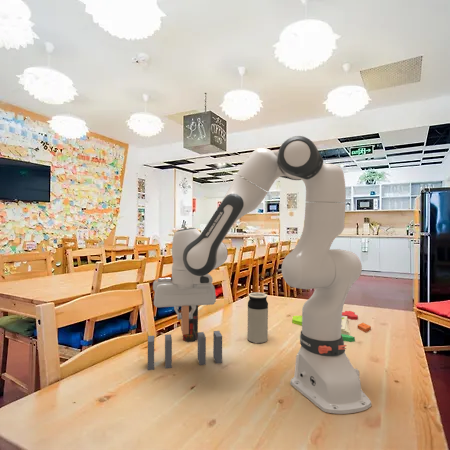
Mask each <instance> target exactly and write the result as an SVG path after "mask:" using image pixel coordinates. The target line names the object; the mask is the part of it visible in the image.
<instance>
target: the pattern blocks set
mask: <svg viewBox="0 0 450 450" xmlns="http://www.w3.org/2000/svg"><path fill="white" fill-rule="evenodd" d="M358 318H359V316H358V314H356V312H354V311H351V310H345V311H342V323H341V335H342V337H343V341H344V342H347V343H348V342H349V343H351V342H356V339H355V336H352V334H351V331H350V326H349V322H348V320H350V321H351V320H352V321H358V320H359V319H358ZM291 320H292V321H291V322H292V325H297V326H301V327H302V315H293V316H292V317H291ZM357 329H358V330H360V331H362V332H363V333H364V334H365V333H367V332H369V330H370V331H371V330H372V326H371V325H369V324H367V323H364V322H360V323H359V324H357Z"/></svg>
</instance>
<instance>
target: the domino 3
mask: <svg viewBox="0 0 450 450" xmlns="http://www.w3.org/2000/svg"><path fill="white" fill-rule="evenodd" d="M180 307H181V308H180V310H181V311H180V313H182V319H180V320H181V321H180V330H181V333H182V335H183V334H189V306H180Z"/></svg>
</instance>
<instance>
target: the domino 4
mask: <svg viewBox="0 0 450 450" xmlns="http://www.w3.org/2000/svg"><path fill="white" fill-rule="evenodd" d="M206 350H207V337H206V334H205V333H204V331H198V340H197V362H198V363H199V366H206V364H207V363H206V361H207V360H206V359H207V355H206V354H207V351H206Z"/></svg>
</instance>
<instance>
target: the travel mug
mask: <svg viewBox="0 0 450 450" xmlns="http://www.w3.org/2000/svg"><path fill="white" fill-rule="evenodd" d="M248 298H249V300H248V302H247V337H246V338H247V340H248V341H249V342H251V343H254V344H263V343H265V342H267V341H268V337H269V336H268V333H269V331H268V330H269V329H268V328H269V325H268V324H269V303H268V300H267V298H268V294H266V293H264V292H251V293H249V294H248Z"/></svg>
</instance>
